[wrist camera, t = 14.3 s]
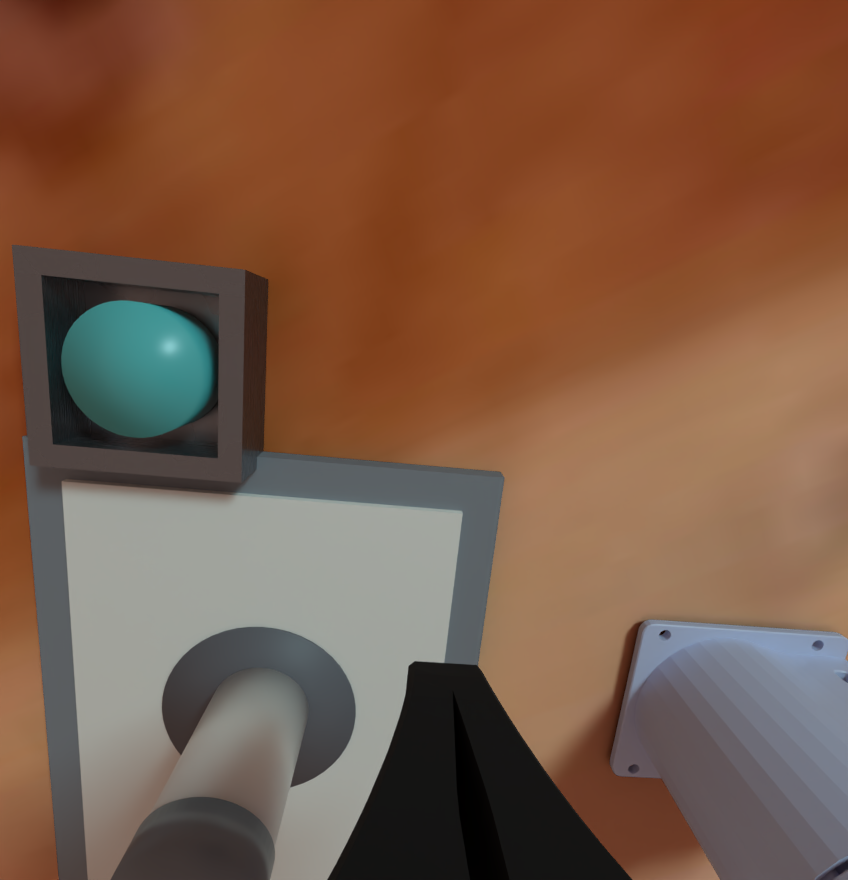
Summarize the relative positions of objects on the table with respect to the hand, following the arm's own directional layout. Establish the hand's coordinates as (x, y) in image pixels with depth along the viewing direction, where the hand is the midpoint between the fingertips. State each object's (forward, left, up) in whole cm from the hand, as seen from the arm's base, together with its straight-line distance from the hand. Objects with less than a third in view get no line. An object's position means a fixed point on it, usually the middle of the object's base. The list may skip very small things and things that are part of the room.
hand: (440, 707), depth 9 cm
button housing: (+10, -5, -10) cm, 15 cm away
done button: (+10, -5, -10) cm, 15 cm away
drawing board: (+6, +9, -10) cm, 15 cm away
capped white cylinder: (+6, +9, -9) cm, 14 cm away
